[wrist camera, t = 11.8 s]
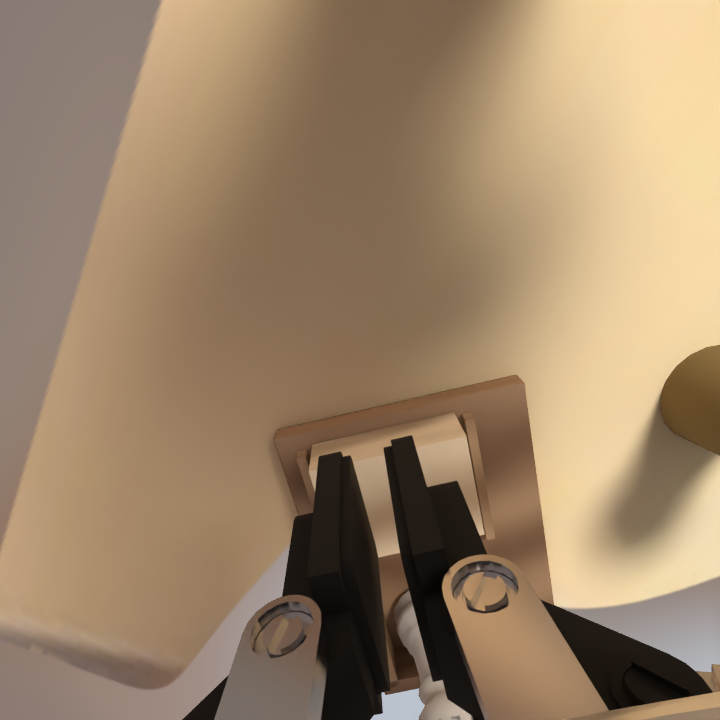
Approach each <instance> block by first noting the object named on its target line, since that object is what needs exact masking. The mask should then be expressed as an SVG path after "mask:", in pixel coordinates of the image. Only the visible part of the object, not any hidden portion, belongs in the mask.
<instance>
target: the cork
mask: <svg viewBox="0 0 720 720" xmlns="http://www.w3.org/2000/svg"><path fill="white" fill-rule="evenodd" d="M660 411H661V413H662V416H663V419H664V422H665V424H666V425H667V426H668V427H669V428H670V429H671V430H672V431H673V433H675V434H677V435H679V436H681V437H683V438H685V439H687V440H689V441H691V442H693V443H695V444H697V445H699V446H701V447H703V448H705V449H707V450H709V451H712V452H714V453H716V454H718V455H720V345H717V346H711V347H706V348H704V349H702V350H700V351H698V352H696V353H694V354H692V355H690V356H689V357H688V358H686V359H685V360H684V361H683V362H681V363H680V364H679V365H678V366H677V367H676V368H675V369H674V371H673V372H672V374H671V375H670V376H669V378H668V379H667V380H666V383H665V386H664V388H663V391H662V394H661V407H660Z"/></svg>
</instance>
